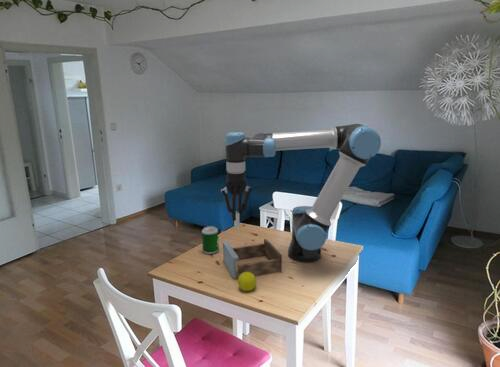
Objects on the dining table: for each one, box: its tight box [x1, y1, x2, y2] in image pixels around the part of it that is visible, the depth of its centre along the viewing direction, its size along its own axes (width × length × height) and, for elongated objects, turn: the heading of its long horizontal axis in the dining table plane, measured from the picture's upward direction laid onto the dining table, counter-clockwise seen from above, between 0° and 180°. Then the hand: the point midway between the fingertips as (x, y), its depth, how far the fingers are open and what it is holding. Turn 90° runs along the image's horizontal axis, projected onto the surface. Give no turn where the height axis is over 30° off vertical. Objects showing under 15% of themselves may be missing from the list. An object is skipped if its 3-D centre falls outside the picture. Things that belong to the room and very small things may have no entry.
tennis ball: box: [237, 272, 257, 292], centre depth 140 cm, size 7×7×7 cm
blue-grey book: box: [222, 240, 239, 280], centre depth 155 cm, size 2×17×9 cm, turn 18°
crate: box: [232, 238, 283, 279], centre depth 158 cm, size 19×18×8 cm
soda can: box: [201, 225, 220, 255], centre depth 173 cm, size 8×8×12 cm
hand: (236, 227), depth 153 cm, fingers closed
